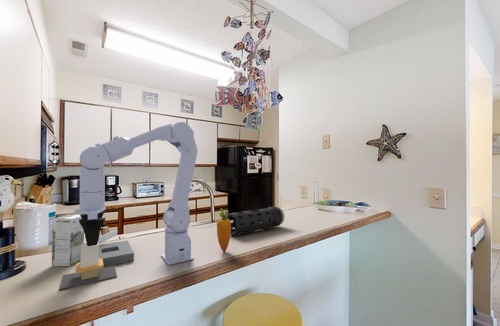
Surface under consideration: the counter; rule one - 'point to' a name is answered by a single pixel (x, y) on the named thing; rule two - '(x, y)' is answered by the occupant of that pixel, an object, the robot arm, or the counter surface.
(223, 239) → the carrot
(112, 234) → the clip
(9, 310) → the counter surface
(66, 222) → the syrup box
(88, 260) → the plug
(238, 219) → the muzzle brake
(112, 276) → the mat
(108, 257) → the socket block
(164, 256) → the robot arm
